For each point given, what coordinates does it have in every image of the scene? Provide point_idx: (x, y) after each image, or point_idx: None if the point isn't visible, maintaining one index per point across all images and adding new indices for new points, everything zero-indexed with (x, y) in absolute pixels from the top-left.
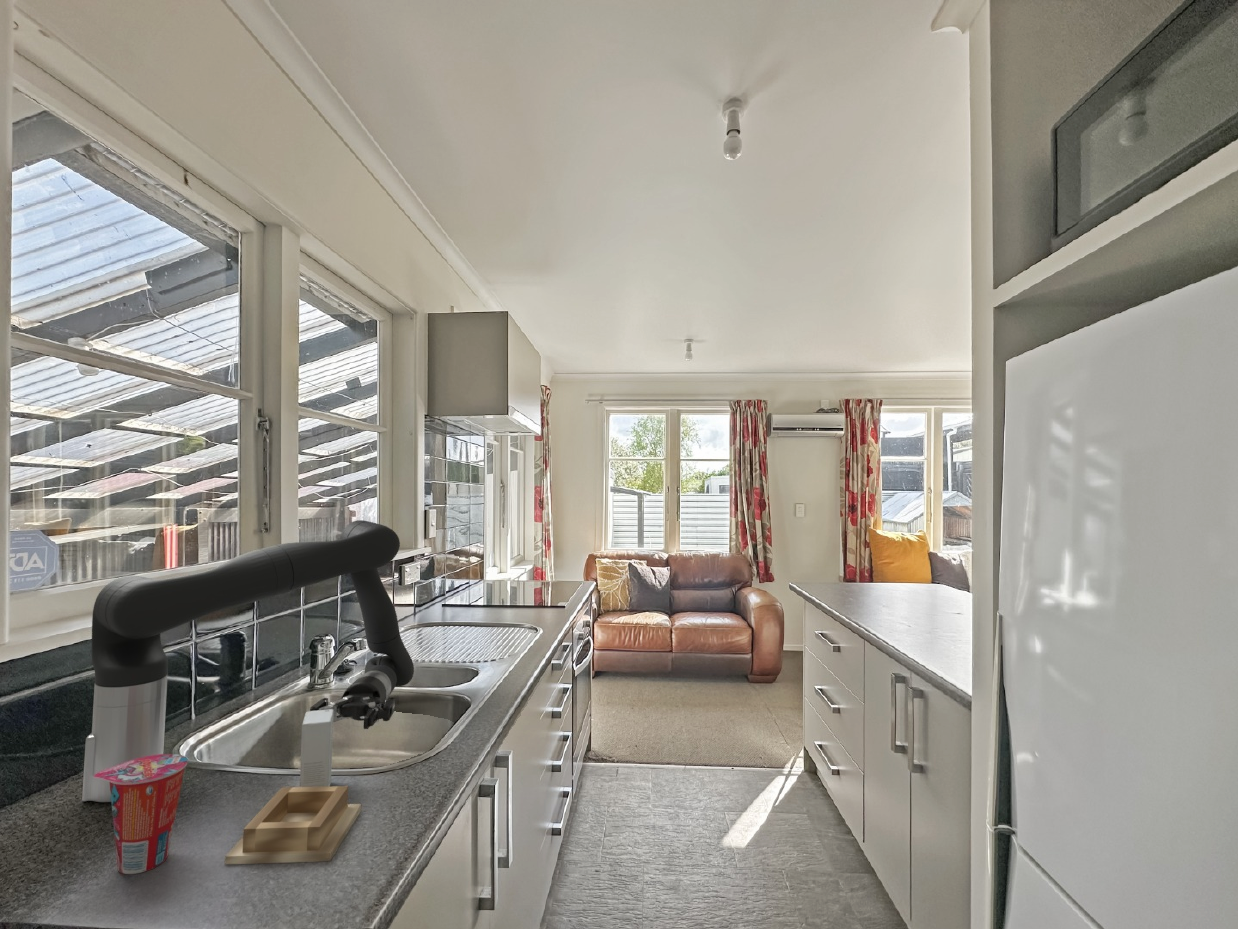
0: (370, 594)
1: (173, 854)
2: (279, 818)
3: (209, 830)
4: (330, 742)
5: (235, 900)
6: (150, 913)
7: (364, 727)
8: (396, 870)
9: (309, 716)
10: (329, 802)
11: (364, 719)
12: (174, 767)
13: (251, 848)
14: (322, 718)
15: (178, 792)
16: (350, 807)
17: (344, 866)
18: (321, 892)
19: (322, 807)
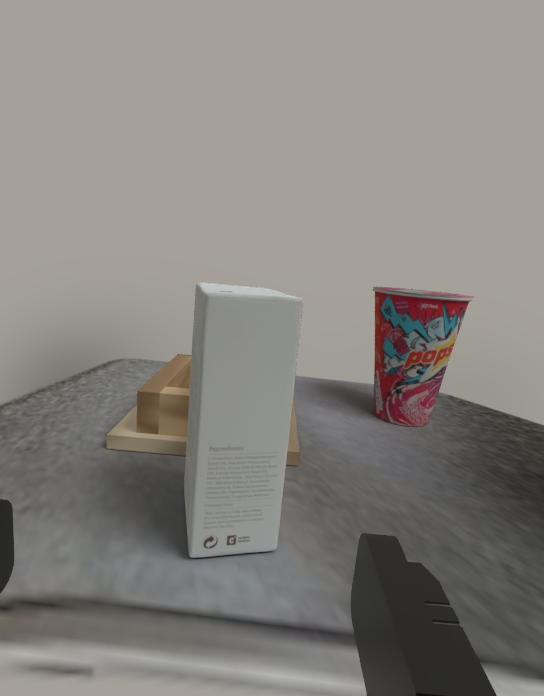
0: None
1: (376, 420)
2: None
3: (375, 446)
4: (192, 350)
5: None
6: (318, 380)
7: (7, 558)
8: (81, 375)
9: (271, 291)
10: (171, 373)
11: (6, 506)
12: (385, 288)
13: None
14: (224, 285)
15: (377, 326)
16: (130, 429)
17: (142, 385)
18: None
19: (181, 368)
